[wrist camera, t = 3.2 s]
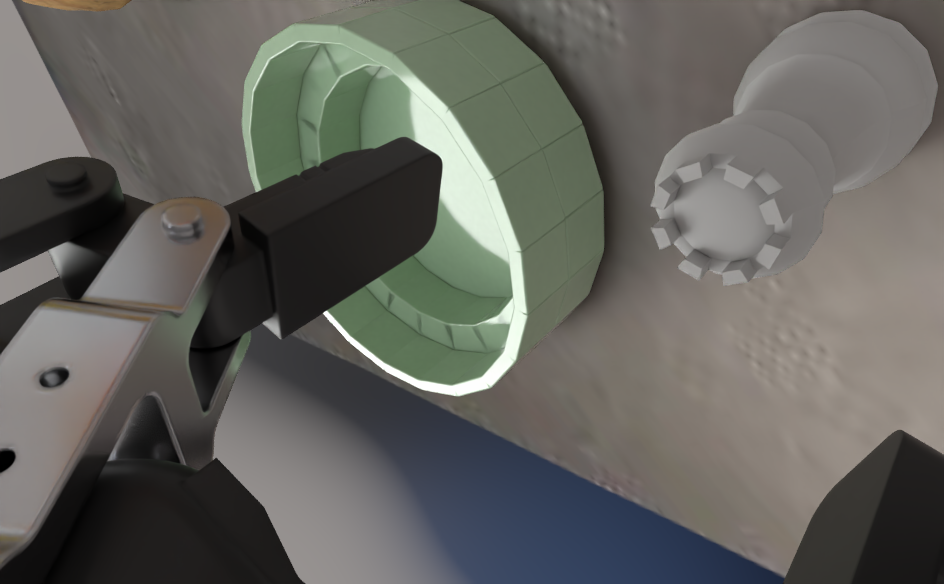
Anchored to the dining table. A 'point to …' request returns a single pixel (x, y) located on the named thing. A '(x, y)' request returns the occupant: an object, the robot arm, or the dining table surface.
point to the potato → (81, 4)
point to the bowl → (462, 185)
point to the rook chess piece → (794, 144)
